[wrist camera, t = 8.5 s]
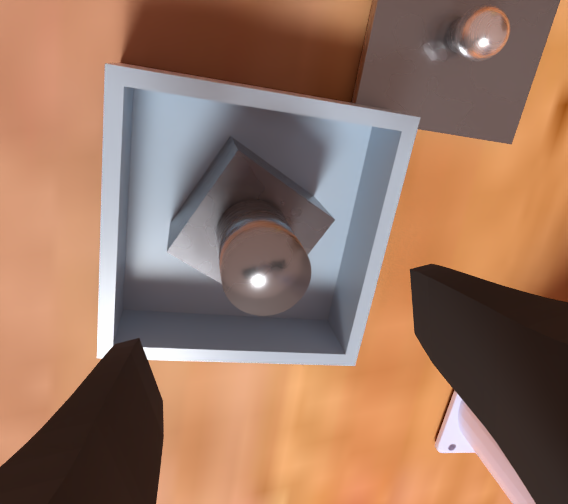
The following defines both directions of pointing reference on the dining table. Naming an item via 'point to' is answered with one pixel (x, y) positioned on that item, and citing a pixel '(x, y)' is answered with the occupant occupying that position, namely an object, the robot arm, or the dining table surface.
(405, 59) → the stud plate
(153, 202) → the bin
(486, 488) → the dining table surface
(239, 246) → the knob
